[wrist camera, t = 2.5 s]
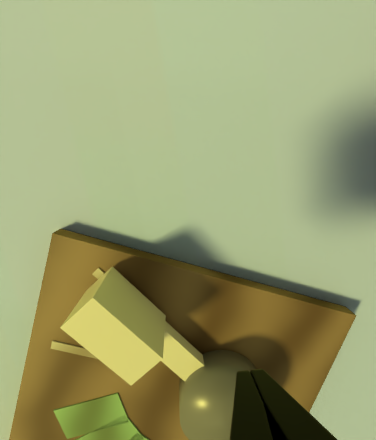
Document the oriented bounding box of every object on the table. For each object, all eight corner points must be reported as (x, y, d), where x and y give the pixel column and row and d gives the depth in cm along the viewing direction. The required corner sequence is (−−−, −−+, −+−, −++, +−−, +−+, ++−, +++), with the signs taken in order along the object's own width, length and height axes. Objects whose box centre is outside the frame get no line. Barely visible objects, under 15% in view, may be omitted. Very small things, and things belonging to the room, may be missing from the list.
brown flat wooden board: (345, 306, 20) (357, 316, 19) (254, 498, 24) (259, 517, 23) (60, 228, 18) (51, 233, 16) (11, 455, 21) (1, 474, 20)
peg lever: (274, 384, 19) (300, 442, 15) (215, 430, 20) (225, 497, 16) (132, 247, 16) (118, 274, 12) (68, 306, 17) (36, 349, 13)
